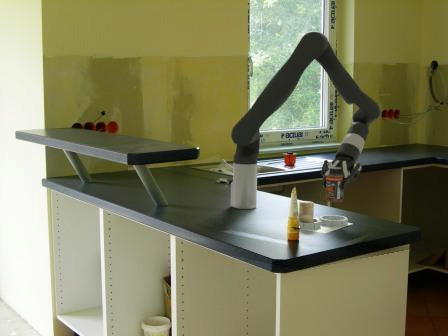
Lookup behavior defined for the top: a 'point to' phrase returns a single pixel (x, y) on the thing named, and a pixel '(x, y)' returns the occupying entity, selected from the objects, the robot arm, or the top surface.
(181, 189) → the top surface
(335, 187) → the supplement bottle
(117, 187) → the top surface
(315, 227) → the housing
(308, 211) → the dowel
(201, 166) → the top surface
